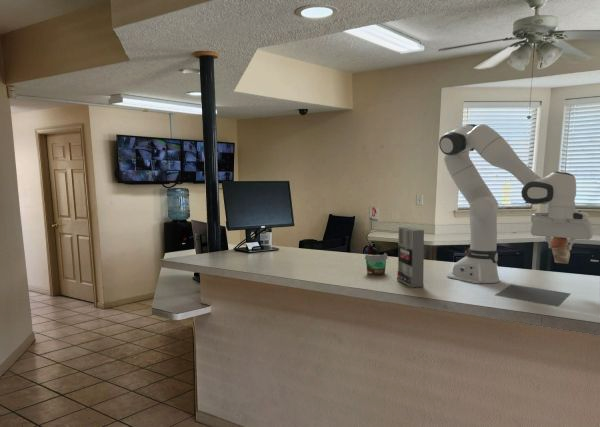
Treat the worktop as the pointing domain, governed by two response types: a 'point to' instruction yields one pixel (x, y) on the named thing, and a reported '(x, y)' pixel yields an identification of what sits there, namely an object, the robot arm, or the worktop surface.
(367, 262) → the food container
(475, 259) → the robot arm
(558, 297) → the charcoal mat
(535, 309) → the worktop surface
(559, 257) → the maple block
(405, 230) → the cassette tape recorder
